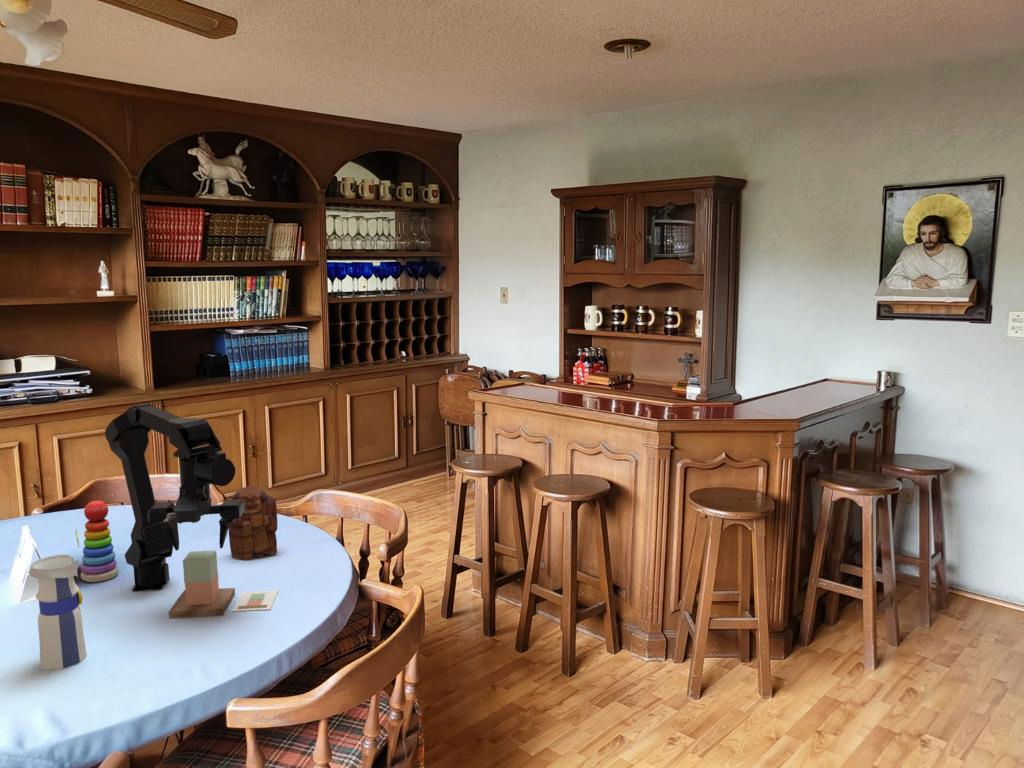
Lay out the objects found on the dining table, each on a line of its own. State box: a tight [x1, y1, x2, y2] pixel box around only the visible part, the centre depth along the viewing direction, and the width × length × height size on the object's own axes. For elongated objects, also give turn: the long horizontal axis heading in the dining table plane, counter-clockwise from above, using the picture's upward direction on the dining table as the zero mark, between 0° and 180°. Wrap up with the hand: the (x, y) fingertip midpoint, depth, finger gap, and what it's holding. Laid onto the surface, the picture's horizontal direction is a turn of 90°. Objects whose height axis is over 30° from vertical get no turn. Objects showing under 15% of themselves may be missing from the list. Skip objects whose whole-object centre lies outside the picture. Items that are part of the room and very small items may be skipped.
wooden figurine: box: [228, 486, 278, 561], centre depth 201 cm, size 12×6×18 cm, turn 112°
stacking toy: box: [80, 499, 119, 583], centre depth 187 cm, size 8×8×19 cm
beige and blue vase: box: [29, 529, 88, 671], centre depth 147 cm, size 8×9×25 cm
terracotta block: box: [184, 572, 220, 605], centre depth 172 cm, size 6×6×5 cm
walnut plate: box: [168, 587, 236, 619], centre depth 172 cm, size 11×11×2 cm
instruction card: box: [231, 589, 279, 613], centre depth 174 cm, size 8×10×1 cm
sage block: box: [182, 550, 219, 584], centre depth 171 cm, size 6×6×5 cm
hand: (199, 548), depth 170 cm, fingers open, 9 cm apart
